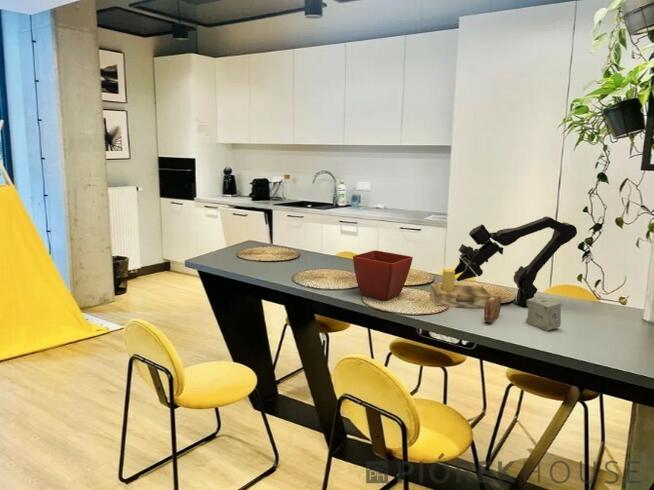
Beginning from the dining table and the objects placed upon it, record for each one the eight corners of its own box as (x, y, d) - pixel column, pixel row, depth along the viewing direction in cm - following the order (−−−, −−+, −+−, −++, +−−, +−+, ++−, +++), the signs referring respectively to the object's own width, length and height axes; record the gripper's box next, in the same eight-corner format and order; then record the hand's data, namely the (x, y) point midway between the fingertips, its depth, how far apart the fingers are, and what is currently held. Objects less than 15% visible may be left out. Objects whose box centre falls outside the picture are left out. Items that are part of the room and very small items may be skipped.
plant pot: (372, 285, 235) (374, 249, 232) (410, 294, 224) (413, 256, 221) (349, 294, 220) (351, 255, 216) (389, 304, 209) (392, 263, 206)
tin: (489, 325, 190) (492, 303, 188) (481, 323, 191) (483, 302, 190) (500, 315, 202) (502, 294, 201) (492, 313, 204) (494, 292, 202)
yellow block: (450, 297, 219) (453, 269, 217) (452, 300, 215) (455, 272, 213) (440, 296, 219) (443, 269, 217) (442, 299, 215) (445, 271, 213)
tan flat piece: (481, 297, 224) (482, 286, 224) (492, 309, 208) (493, 297, 207) (430, 294, 225) (431, 283, 224) (437, 306, 209) (438, 294, 208)
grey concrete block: (523, 323, 194) (526, 296, 192) (539, 321, 198) (542, 294, 196) (544, 332, 185) (547, 304, 183) (560, 329, 189) (564, 302, 187)
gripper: (466, 234, 221) (438, 258, 224) (478, 242, 203) (446, 268, 205) (483, 253, 223) (454, 277, 225) (495, 263, 204) (464, 289, 207)
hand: (454, 277), depth 215 cm, fingers open, 9 cm apart
